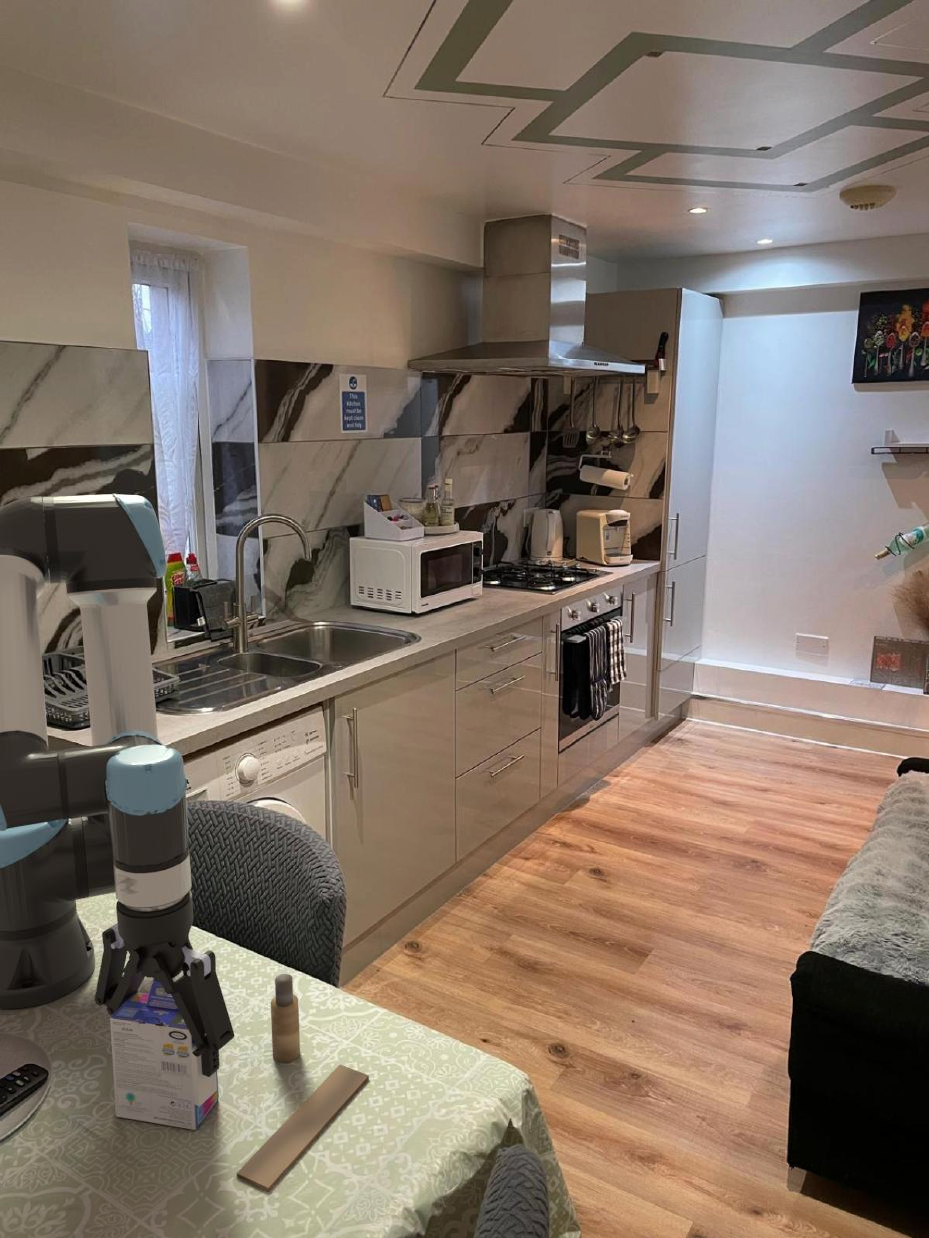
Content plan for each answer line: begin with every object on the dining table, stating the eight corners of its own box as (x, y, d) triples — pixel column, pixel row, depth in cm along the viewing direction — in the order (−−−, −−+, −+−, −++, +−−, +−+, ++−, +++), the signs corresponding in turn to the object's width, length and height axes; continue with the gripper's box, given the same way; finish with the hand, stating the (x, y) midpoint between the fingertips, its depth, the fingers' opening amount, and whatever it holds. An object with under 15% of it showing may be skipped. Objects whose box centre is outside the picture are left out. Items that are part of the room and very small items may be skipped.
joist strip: (236, 1176, 92) (236, 1172, 92) (339, 1067, 108) (339, 1064, 108) (268, 1191, 91) (268, 1187, 91) (368, 1078, 106) (368, 1075, 106)
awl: (267, 1057, 110) (264, 982, 108) (284, 1041, 112) (281, 967, 110) (288, 1066, 108) (286, 989, 106) (305, 1049, 111) (303, 975, 109)
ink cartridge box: (222, 1096, 103) (215, 980, 100) (198, 1132, 98) (191, 1011, 95) (141, 1083, 105) (133, 968, 102) (114, 1118, 100) (104, 998, 97)
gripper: (47, 884, 98) (65, 1067, 103) (213, 940, 88) (224, 1140, 93) (104, 856, 105) (117, 1029, 109) (264, 904, 95) (272, 1093, 99)
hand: (166, 1080), depth 101 cm, fingers closed on ink cartridge box, 10 cm apart
